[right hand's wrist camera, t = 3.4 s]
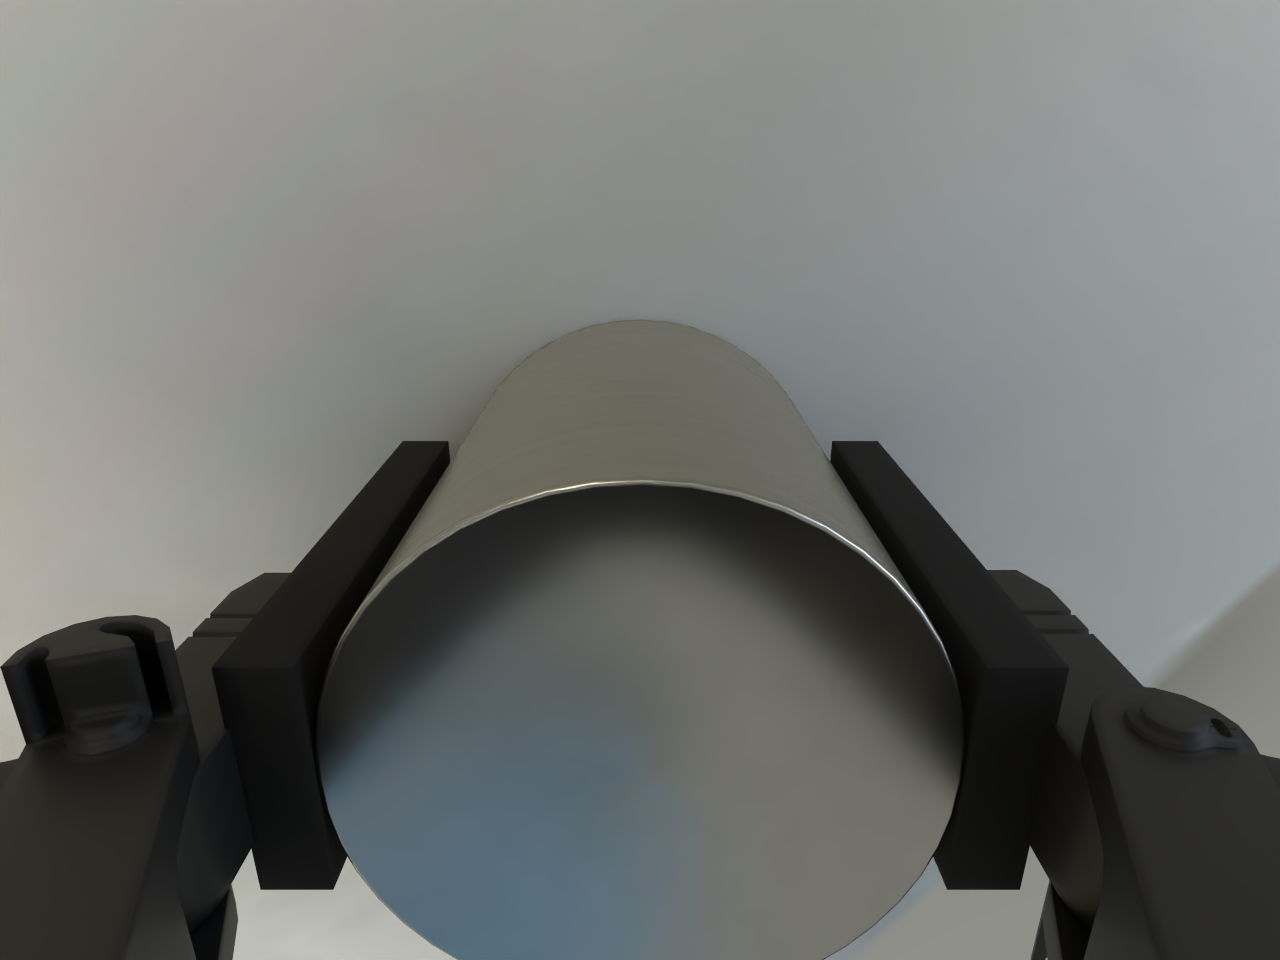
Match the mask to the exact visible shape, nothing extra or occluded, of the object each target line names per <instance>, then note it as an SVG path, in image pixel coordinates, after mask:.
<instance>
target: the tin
mask: <svg viewBox="0 0 1280 960" xmlns="http://www.w3.org/2000/svg"><path fill="white" fill-rule="evenodd" d="M315 750H316V762H317V773H318V780H319V784H320V788H321V792H322V796H323V800H324V804H325V808H326V812H327V814H328V817H329V819H330V821H331V824H332V826H333V829H334V831H335V833H336V836H337V838H338V840H339V843H340V844H341V846H342V848H343V849H344V851H345V853H346V854H347V856H348V858H349V859H350V861H351V863H352V864H353V866H354V868H355V869H356V871H357V873H358V874H359V875H360V876H361V877H362V879H363V880H364V881H365V882H366V884H367V885H368V886H369V887H370V889H371V890H372V891H373V892H374V894H375V895H376V896H377V897H378V899H379V900H380V901H381V902H382V903H383V904H385V905H386V906H387V907H388V908H389V909H390V910H391V911H392V912H393V913H394V914H395V915H396V916H397V917H398V918H399V919H400V920H401V921H402V922H403V923H404V924H406V925H407V926H408V927H410V928H411V929H412V930H414V931H415V932H416V933H417V934H419V935H420V936H421V937H423V938H424V939H425V940H427V941H428V942H429V943H431V944H432V945H434V946H435V947H437V948H439V949H440V950H442V951H444V952H445V953H447V954H449V955H450V956H452V957H454V958H455V959H457V960H823V959H825V958H827V957H829V956H830V955H832V954H834V953H835V952H837V951H839V950H841V949H842V948H844V947H846V946H847V945H848V944H850V943H851V942H852V941H854V940H855V939H857V938H858V937H859V936H861V935H862V934H863V933H865V932H866V931H867V930H869V929H870V928H871V927H873V926H874V925H875V924H876V923H877V922H878V921H879V920H881V919H882V918H883V917H884V916H885V915H886V914H887V913H888V912H889V911H890V910H891V909H892V908H893V907H894V906H895V905H896V904H898V903H899V902H900V900H901V899H902V898H903V897H904V896H905V894H906V893H907V892H908V891H909V890H910V888H911V887H912V886H913V885H914V884H915V882H916V881H917V880H918V879H919V877H920V876H921V875H922V873H923V872H924V870H925V869H926V867H927V865H928V864H929V862H930V861H931V859H932V857H933V856H934V854H935V853H936V851H937V849H938V848H939V846H940V844H941V842H942V839H943V837H944V835H945V833H946V830H947V828H948V826H949V824H950V821H951V819H952V817H953V814H954V811H955V807H956V803H957V799H958V796H959V792H960V788H961V785H962V779H963V770H964V760H965V751H966V736H965V718H964V707H963V703H962V699H961V694H960V690H959V685H958V681H957V677H956V673H955V671H954V668H953V666H952V663H951V661H950V659H949V656H948V654H947V651H946V649H945V646H944V644H943V641H942V639H941V638H940V636H939V634H938V633H937V631H936V629H935V628H934V626H933V624H932V623H931V621H930V620H929V618H928V616H927V615H926V613H925V611H924V610H923V608H922V606H921V605H920V603H919V602H918V600H917V599H916V597H915V595H914V594H913V592H912V591H911V589H910V587H909V586H908V584H907V583H906V581H905V580H904V578H903V576H902V575H901V573H900V572H899V570H898V568H897V567H896V565H895V564H894V562H893V561H892V559H891V557H890V556H889V554H888V553H887V551H886V550H885V548H884V546H883V545H882V543H881V542H880V540H879V538H878V537H877V535H876V534H875V532H874V531H873V529H872V527H871V526H870V524H869V523H868V521H867V519H866V518H865V516H864V515H863V513H862V512H861V510H860V508H859V507H858V505H857V504H856V502H855V501H854V499H853V497H852V496H851V494H850V493H849V491H848V489H847V488H846V486H845V485H844V483H843V482H842V480H841V478H840V477H839V475H838V474H837V472H836V470H835V469H834V467H833V466H832V464H831V463H830V461H829V459H828V458H827V456H826V455H825V453H824V452H823V450H822V448H821V447H820V445H819V444H818V442H817V440H816V439H815V437H814V436H813V434H812V433H811V431H810V429H809V428H808V426H807V425H806V423H805V421H804V420H803V418H802V417H801V415H800V414H799V412H798V410H797V409H796V407H795V406H794V404H793V403H792V401H791V399H790V398H789V396H788V395H787V393H786V392H785V391H784V389H783V388H782V387H781V386H780V384H779V383H778V382H777V381H776V380H775V378H774V377H773V376H772V375H771V374H770V373H769V372H768V371H767V370H766V369H765V368H764V367H762V366H761V365H760V364H759V363H758V362H757V361H756V360H755V359H754V358H752V357H751V356H749V355H748V354H746V353H745V352H743V351H742V350H741V349H739V348H738V347H736V346H735V345H733V344H731V343H729V342H727V341H725V340H723V339H721V338H719V337H717V336H715V335H713V334H710V333H707V332H704V331H702V330H699V329H696V328H693V327H690V326H685V325H680V324H675V323H671V322H665V321H651V320H629V321H616V322H610V323H605V324H600V325H595V326H591V327H588V328H585V329H582V330H579V331H576V332H573V333H570V334H568V335H566V336H564V337H562V338H560V339H558V340H556V341H553V342H551V343H549V344H547V345H546V346H544V347H543V348H542V349H540V350H539V351H537V352H536V353H534V354H533V355H531V356H530V357H528V358H527V359H526V360H525V361H524V362H522V363H521V364H520V365H519V366H518V367H517V368H516V369H515V370H513V371H512V372H511V373H510V374H509V376H508V377H507V378H506V379H505V380H504V381H503V383H502V384H501V385H500V386H499V387H498V388H497V390H496V391H495V392H494V394H493V396H492V397H491V399H490V400H489V402H488V404H487V405H486V407H485V408H484V410H483V411H482V413H481V415H480V416H479V418H478V419H477V421H476V423H475V424H474V426H473V427H472V429H471V431H470V432H469V434H468V435H467V437H466V438H465V440H464V442H463V443H462V445H461V446H460V448H459V450H458V451H457V453H456V454H455V456H454V457H453V459H452V461H451V462H450V464H449V465H448V467H447V469H446V470H445V472H444V473H443V475H442V477H441V478H440V480H439V481H438V483H437V484H436V486H435V488H434V489H433V491H432V492H431V494H430V496H429V497H428V499H427V500H426V502H425V504H424V505H423V507H422V508H421V510H420V511H419V513H418V515H417V516H416V518H415V519H414V521H413V523H412V524H411V526H410V527H409V529H408V530H407V532H406V534H405V535H404V537H403V538H402V540H401V542H400V543H399V545H398V546H397V548H396V550H395V551H394V553H393V554H392V556H391V557H390V559H389V561H388V562H387V564H386V565H385V567H384V569H383V570H382V572H381V573H380V575H379V577H378V578H377V580H376V581H375V583H374V584H373V586H372V588H371V589H370V591H369V592H368V594H367V596H366V597H365V599H364V600H363V602H362V603H361V605H360V607H359V608H358V610H357V611H356V613H355V615H354V616H353V618H352V619H351V621H350V623H349V624H348V626H347V627H346V629H345V630H344V632H343V634H342V635H341V637H340V639H339V642H338V644H337V646H336V649H335V651H334V653H333V656H332V658H331V660H330V663H329V665H328V667H327V670H326V673H325V677H324V681H323V685H322V689H321V693H320V697H319V701H318V706H317V718H316V731H315Z"/></svg>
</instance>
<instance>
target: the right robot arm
mask: <svg viewBox="0 0 1280 960" xmlns="http://www.w3.org/2000/svg"><path fill="white" fill-rule="evenodd" d="M830 463H831V464H832V466H833V467H834V469H835V470H836V472H837V474H838V475H839V477H840V478H841V480H842V482H843V483H844V485H845V486H846V488H847V489H848V491H849V493H850V494H851V496H852V497H853V499H854V501H855V502H856V504H857V505H858V507H859V508H860V510H861V512H862V513H863V515H864V516H865V518H866V519H867V521H868V523H869V524H870V526H871V527H872V529H873V531H874V532H875V534H876V535H877V537H878V538H879V540H880V542H881V543H882V545H883V546H884V548H885V550H886V551H887V553H888V554H889V556H890V557H891V559H892V561H893V562H894V564H895V565H896V567H897V568H898V570H899V572H900V573H901V575H902V576H903V578H904V580H905V581H906V583H907V584H908V586H909V587H910V589H911V591H912V592H913V594H914V595H915V597H916V599H917V600H918V602H919V603H920V605H921V606H922V608H923V610H924V611H925V613H926V615H927V616H928V618H929V620H930V621H931V623H932V624H933V626H934V628H935V629H936V631H937V633H938V634H939V636H940V638H941V639H942V641H943V644H944V646H945V649H946V651H947V654H948V656H949V659H950V661H951V663H952V666H953V668H954V671H955V673H956V677H957V681H958V685H959V690H960V694H961V699H962V703H963V707H964V718H965V736H966V751H965V760H964V770H963V779H962V785H961V788H960V792H959V796H958V799H957V803H956V807H955V811H954V814H953V817H952V819H951V821H950V824H949V826H948V828H947V830H946V833H945V835H944V837H943V839H942V842H941V844H940V846H939V848H938V849H937V851H936V853H935V854H934V856H933V857H934V859H935V862H936V864H937V866H938V869H939V871H940V874H941V876H942V878H943V881H944V883H945V885H946V888H947V889H948V890H1019V889H1020V887H1021V882H1022V878H1023V873H1024V869H1025V864H1026V860H1027V855H1028V851H1029V846H1031V848H1032V849H1033V851H1034V853H1035V855H1036V857H1037V858H1038V860H1039V862H1040V864H1041V865H1042V867H1043V869H1044V871H1045V872H1046V874H1047V876H1048V878H1049V879H1050V881H1049V885H1048V889H1047V893H1046V897H1045V902H1044V906H1043V910H1042V914H1041V918H1040V922H1039V927H1038V931H1037V935H1036V939H1035V943H1034V948H1033V951H1032V956H1031V960H1045V958H1047V957H1048V960H1280V759H1278V758H1273V757H1269V756H1265V755H1261V754H1259V752H1258V750H1257V748H1256V746H1255V744H1254V743H1253V742H1252V741H1251V739H1250V738H1249V737H1248V736H1247V735H1246V734H1245V732H1244V731H1243V730H1242V729H1241V728H1240V727H1239V725H1237V724H1236V723H1234V722H1233V721H1231V720H1230V719H1228V718H1227V717H1225V716H1224V715H1222V714H1221V713H1219V712H1218V711H1216V710H1215V709H1213V708H1211V707H1209V706H1206V705H1204V704H1202V703H1200V702H1197V701H1195V700H1193V699H1190V698H1188V697H1186V696H1183V695H1179V694H1175V693H1171V692H1168V691H1164V690H1160V689H1156V688H1147V687H1143V686H1142V685H1141V684H1140V683H1139V682H1138V680H1137V679H1136V678H1135V677H1134V676H1133V675H1132V674H1131V673H1130V672H1129V671H1128V670H1127V669H1126V668H1125V667H1124V666H1123V665H1122V664H1121V663H1120V662H1119V661H1118V660H1117V659H1116V657H1115V656H1114V655H1113V654H1112V653H1111V652H1110V651H1109V650H1108V649H1107V648H1106V647H1105V646H1104V645H1103V644H1102V643H1101V642H1100V641H1099V640H1098V639H1097V638H1096V637H1095V636H1094V635H1093V634H1089V632H1088V628H1087V627H1086V626H1085V625H1084V624H1083V623H1082V622H1081V621H1080V620H1079V619H1078V618H1077V617H1076V616H1075V615H1071V610H1070V609H1069V608H1068V607H1067V606H1066V605H1065V604H1064V603H1063V602H1062V601H1061V600H1060V599H1059V598H1058V597H1057V596H1056V595H1055V594H1054V593H1053V592H1052V591H1051V590H1050V589H1049V588H1047V587H1046V586H1044V585H1042V584H1040V583H1038V582H1037V581H1035V580H1033V579H1031V578H1030V577H1028V576H1026V575H1024V574H1022V573H1021V572H1019V571H1017V570H986V569H985V567H984V566H983V565H982V564H981V563H980V561H979V560H978V559H977V558H976V557H975V556H974V554H973V553H972V552H971V551H970V550H969V548H968V547H967V546H966V545H965V544H964V543H963V541H962V540H961V539H960V538H959V537H958V535H957V534H956V533H955V532H954V531H953V530H952V528H951V527H950V526H949V525H948V524H947V523H946V521H945V520H944V519H943V518H942V517H941V515H940V514H939V513H938V512H937V511H936V510H935V508H934V507H933V506H932V505H931V504H930V502H929V501H928V500H927V499H926V498H925V497H924V495H923V494H922V493H921V492H920V491H919V489H918V488H917V487H916V486H915V485H914V484H913V482H912V481H911V480H910V479H909V478H908V476H907V475H906V474H905V473H904V472H903V471H902V469H901V468H900V467H899V466H898V465H897V463H896V462H895V461H894V460H893V459H892V458H891V456H890V455H889V454H888V453H887V452H886V451H885V449H884V448H883V447H882V446H881V445H880V443H879V442H878V441H832V450H831V461H830ZM449 464H450V454H449V443H448V441H403V442H402V443H401V444H400V445H399V446H398V448H397V449H396V450H395V451H394V452H393V454H392V455H391V456H390V457H389V458H388V459H387V461H386V462H385V463H384V464H383V465H382V467H381V468H380V469H379V470H378V471H377V472H376V474H375V475H374V476H373V477H372V478H371V480H370V481H369V482H368V483H367V484H366V485H365V487H364V488H363V489H362V490H361V491H360V493H359V494H358V495H357V496H356V497H355V498H354V500H353V501H352V502H351V503H350V504H349V505H348V507H347V508H346V509H345V510H344V511H343V513H342V514H341V515H340V516H339V517H338V518H337V520H336V521H335V522H334V523H333V524H332V526H331V527H330V528H329V529H328V530H327V531H326V533H325V534H324V535H323V536H322V537H321V539H320V540H319V541H318V542H317V543H316V544H315V546H314V547H313V548H312V549H311V550H310V552H309V553H308V554H307V555H306V556H305V557H304V559H303V560H302V561H301V562H300V563H299V565H298V566H297V567H296V568H295V569H294V570H293V572H292V573H264V574H262V575H260V576H258V577H256V578H255V579H253V580H251V581H249V582H248V583H246V584H244V585H242V586H241V587H239V588H237V589H235V590H233V591H232V592H231V593H230V594H229V595H228V596H227V597H226V598H225V599H224V600H223V601H222V602H221V603H220V604H219V605H218V606H217V607H216V608H215V609H214V611H213V612H212V613H211V614H210V615H211V616H210V618H206V619H205V620H204V621H203V622H202V623H201V624H200V625H199V626H198V627H197V628H196V629H195V631H194V632H193V637H188V638H187V639H186V640H185V641H184V642H183V643H182V644H181V645H180V646H179V647H178V648H177V649H176V651H175V648H174V644H173V639H172V635H171V631H170V627H168V626H167V625H165V624H164V623H162V622H161V621H160V620H158V619H155V618H149V617H143V616H137V615H131V616H115V617H104V618H100V619H95V620H91V621H86V622H82V623H77V624H74V625H71V626H68V627H66V628H63V629H60V630H58V631H55V632H52V633H50V634H47V635H44V636H42V637H40V638H39V639H37V640H35V641H33V642H32V643H30V644H28V645H26V646H25V647H23V648H21V649H19V650H18V651H17V652H15V653H14V654H13V655H12V656H11V657H10V658H9V659H8V660H7V661H6V662H5V663H4V664H3V665H2V666H1V670H2V673H3V676H4V679H5V682H6V685H7V688H8V691H9V694H10V697H11V700H12V703H13V706H14V709H15V712H16V715H17V718H18V721H19V724H20V727H21V730H22V733H23V736H24V739H25V742H26V746H25V748H24V750H23V751H22V753H21V755H20V757H19V759H15V760H11V761H6V762H1V763H0V960H232V959H233V952H234V945H235V938H236V930H237V923H238V916H237V909H236V902H235V897H234V893H233V889H232V885H231V883H232V881H233V880H234V878H235V876H236V874H237V873H238V871H239V869H240V867H241V865H242V864H243V862H244V860H245V858H246V857H247V855H248V853H249V851H250V850H251V848H252V853H253V857H254V862H255V866H256V871H257V875H258V880H259V884H260V889H261V890H333V889H334V887H335V884H336V882H337V880H338V877H339V875H340V873H341V870H342V868H343V865H344V863H345V861H346V858H347V854H346V853H345V851H344V849H343V848H342V846H341V844H340V843H339V840H338V838H337V836H336V833H335V831H334V829H333V826H332V824H331V821H330V819H329V817H328V814H327V812H326V808H325V804H324V800H323V796H322V792H321V788H320V784H319V780H318V773H317V762H316V750H315V731H316V718H317V706H318V701H319V697H320V693H321V689H322V685H323V681H324V677H325V673H326V670H327V667H328V665H329V663H330V660H331V658H332V656H333V653H334V651H335V649H336V646H337V644H338V642H339V639H340V637H341V635H342V634H343V632H344V630H345V629H346V627H347V626H348V624H349V623H350V621H351V619H352V618H353V616H354V615H355V613H356V611H357V610H358V608H359V607H360V605H361V603H362V602H363V600H364V599H365V597H366V596H367V594H368V592H369V591H370V589H371V588H372V586H373V584H374V583H375V581H376V580H377V578H378V577H379V575H380V573H381V572H382V570H383V569H384V567H385V565H386V564H387V562H388V561H389V559H390V557H391V556H392V554H393V553H394V551H395V550H396V548H397V546H398V545H399V543H400V542H401V540H402V538H403V537H404V535H405V534H406V532H407V530H408V529H409V527H410V526H411V524H412V523H413V521H414V519H415V518H416V516H417V515H418V513H419V511H420V510H421V508H422V507H423V505H424V504H425V502H426V500H427V499H428V497H429V496H430V494H431V492H432V491H433V489H434V488H435V486H436V484H437V483H438V481H439V480H440V478H441V477H442V475H443V473H444V472H445V470H446V469H447V467H448V465H449Z"/></svg>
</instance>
